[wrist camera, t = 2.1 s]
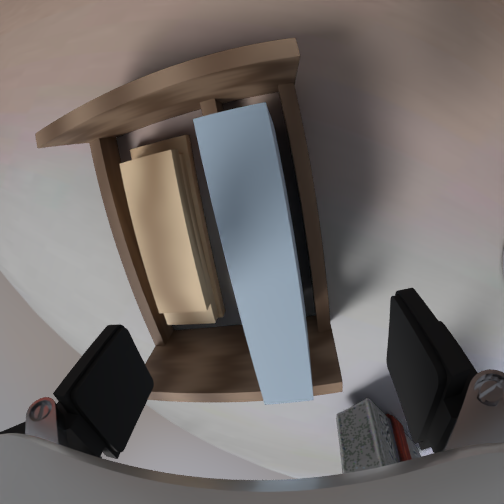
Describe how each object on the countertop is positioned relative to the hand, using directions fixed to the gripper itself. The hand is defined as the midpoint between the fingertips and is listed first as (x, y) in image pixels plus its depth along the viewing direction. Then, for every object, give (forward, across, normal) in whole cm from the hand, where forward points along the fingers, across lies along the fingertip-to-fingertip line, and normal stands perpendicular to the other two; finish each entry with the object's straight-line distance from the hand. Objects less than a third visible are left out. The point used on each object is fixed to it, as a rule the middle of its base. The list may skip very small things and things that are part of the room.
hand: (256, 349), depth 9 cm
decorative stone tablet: (+18, -13, +38) cm, 44 cm away
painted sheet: (+18, 0, 0) cm, 18 cm away
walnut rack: (+18, +5, 0) cm, 19 cm away
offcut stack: (+18, +9, 0) cm, 21 cm away
